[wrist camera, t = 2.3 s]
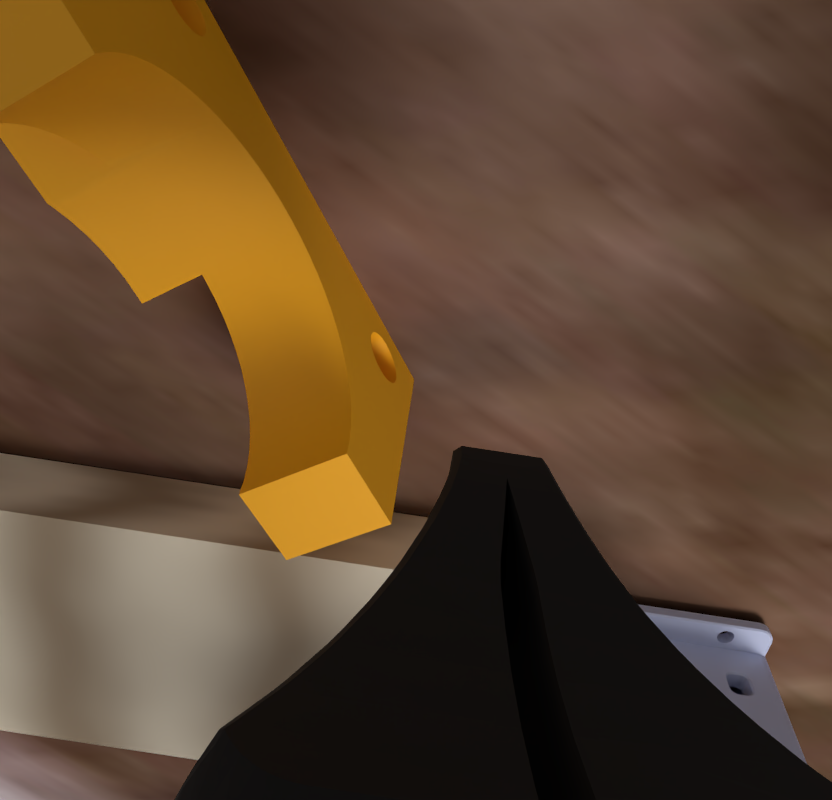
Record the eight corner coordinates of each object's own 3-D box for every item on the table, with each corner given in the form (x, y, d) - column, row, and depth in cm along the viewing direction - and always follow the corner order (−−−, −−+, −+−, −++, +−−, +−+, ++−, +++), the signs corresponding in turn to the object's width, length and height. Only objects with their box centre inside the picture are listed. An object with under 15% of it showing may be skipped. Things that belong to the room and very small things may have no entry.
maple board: (490, 526, 24) (490, 586, 22) (442, 733, 29) (439, 798, 27) (-283, 410, 24) (-361, 458, 22) (-196, 637, 29) (-252, 695, 27)
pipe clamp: (15, 25, 18) (-192, 62, 13) (167, -73, 17) (12, -79, 11) (283, 428, 23) (220, 583, 18) (414, 376, 22) (391, 523, 16)
